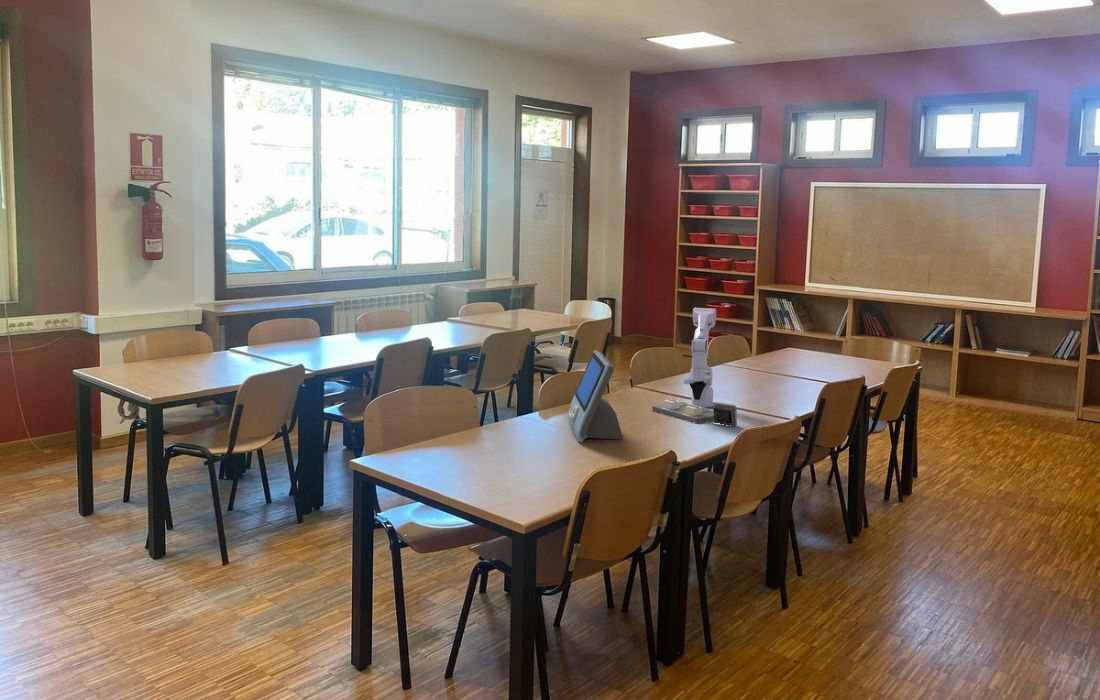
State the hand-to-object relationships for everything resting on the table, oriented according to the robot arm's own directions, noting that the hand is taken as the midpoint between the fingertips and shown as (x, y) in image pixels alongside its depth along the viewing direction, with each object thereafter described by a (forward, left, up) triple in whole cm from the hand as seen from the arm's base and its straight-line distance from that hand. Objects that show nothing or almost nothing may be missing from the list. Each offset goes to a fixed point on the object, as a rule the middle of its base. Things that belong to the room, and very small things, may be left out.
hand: (696, 399), depth 360 cm
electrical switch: (-1, +15, -8) cm, 17 cm away
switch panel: (-2, -6, -8) cm, 11 cm away
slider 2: (+2, 0, -6) cm, 6 cm away
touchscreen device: (+51, -6, -9) cm, 52 cm away
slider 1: (+2, -13, -6) cm, 14 cm away
